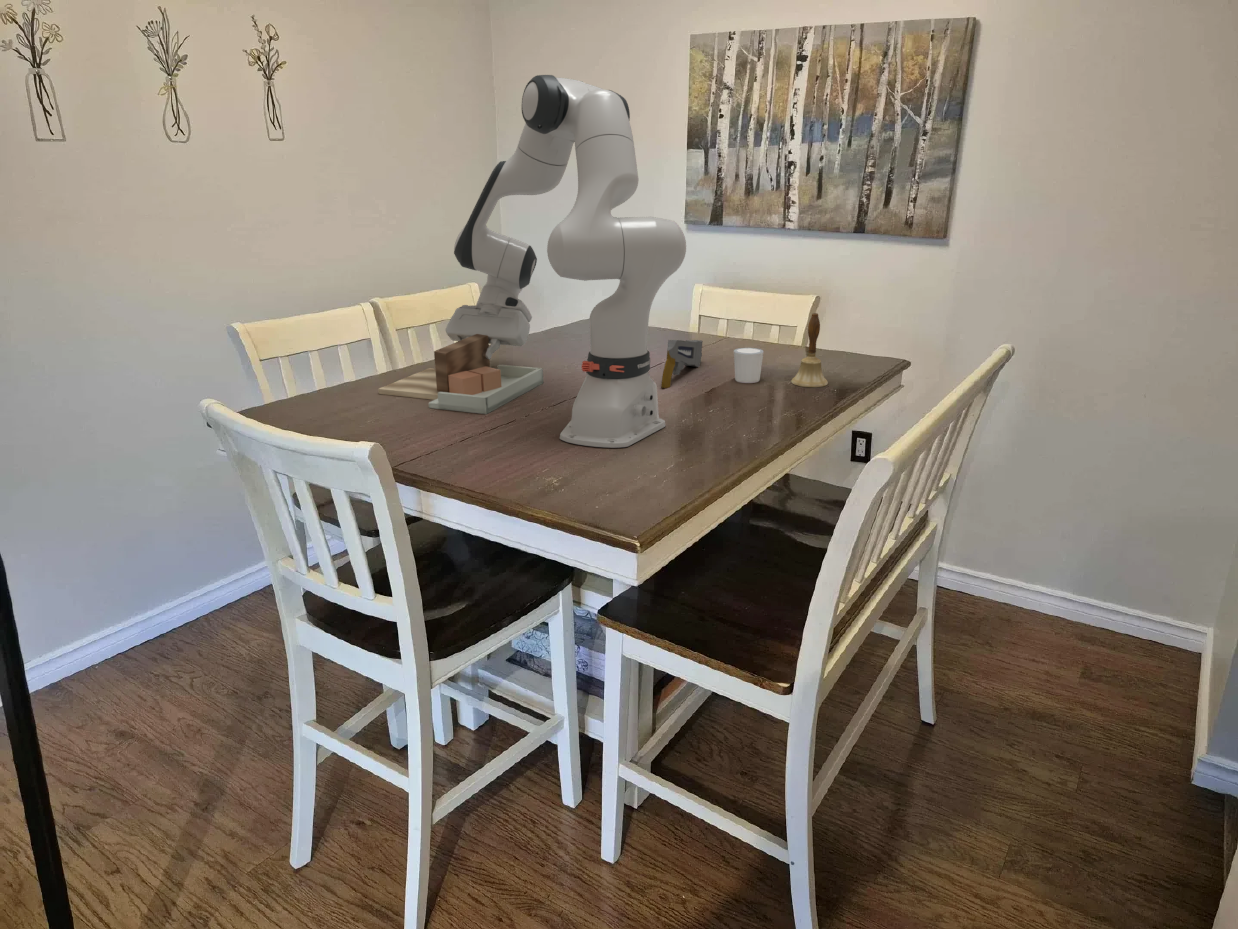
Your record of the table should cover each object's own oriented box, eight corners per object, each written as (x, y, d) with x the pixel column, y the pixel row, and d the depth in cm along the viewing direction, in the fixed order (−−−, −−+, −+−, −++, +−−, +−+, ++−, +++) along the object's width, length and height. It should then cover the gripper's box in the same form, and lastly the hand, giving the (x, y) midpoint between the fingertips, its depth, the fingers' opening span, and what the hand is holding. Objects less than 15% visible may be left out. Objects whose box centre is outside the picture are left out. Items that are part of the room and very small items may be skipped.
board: (445, 401, 181) (444, 395, 180) (378, 393, 187) (378, 388, 186) (491, 378, 198) (491, 373, 198) (429, 372, 204) (429, 367, 204)
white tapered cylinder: (763, 377, 196) (765, 347, 193) (760, 384, 190) (761, 354, 187) (734, 375, 198) (735, 346, 195) (730, 382, 191) (731, 352, 189)
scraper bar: (447, 392, 182) (445, 353, 178) (436, 390, 183) (434, 351, 180) (490, 372, 195) (488, 335, 191) (479, 370, 196) (477, 333, 193)
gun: (697, 400, 209) (705, 341, 209) (668, 388, 186) (676, 321, 186) (685, 399, 210) (693, 340, 210) (654, 386, 187) (663, 320, 187)
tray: (486, 414, 171) (485, 397, 170) (428, 407, 176) (427, 391, 175) (543, 382, 194) (542, 368, 192) (491, 377, 199) (490, 363, 197)
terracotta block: (463, 397, 179) (462, 379, 178) (449, 392, 182) (448, 375, 181) (481, 392, 183) (480, 374, 181) (467, 388, 186) (466, 370, 184)
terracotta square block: (484, 391, 183) (483, 374, 182) (469, 388, 186) (468, 370, 185) (501, 387, 187) (500, 369, 185) (487, 383, 190) (485, 366, 188)
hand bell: (831, 380, 192) (836, 311, 187) (823, 389, 185) (829, 317, 180) (795, 377, 196) (800, 309, 190) (787, 385, 189) (791, 315, 183)
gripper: (452, 296, 198) (432, 346, 193) (528, 301, 190) (510, 352, 185) (463, 312, 203) (445, 360, 198) (538, 317, 196) (520, 367, 191)
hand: (477, 357), depth 192 cm, fingers closed on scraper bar, 3 cm apart
